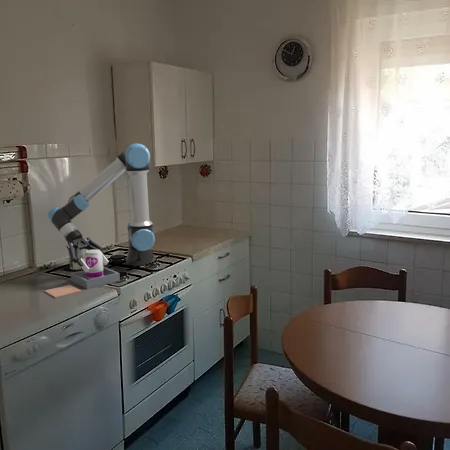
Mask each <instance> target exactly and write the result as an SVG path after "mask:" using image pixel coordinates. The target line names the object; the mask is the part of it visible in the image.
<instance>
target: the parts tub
mask: <svg viewBox="0 0 450 450" xmlns="http://www.w3.org/2000/svg"><path fill="white" fill-rule="evenodd" d="M103 269H104V276H102V277H98V278H93V279H89V280H87V278H86V272H85V271H84V270H80V271H75V272H74V271H73V272H71V273H70V280H71V282H72V283H73V284H76V285H78V286H81V287H82V288H85V289H86V290H91V289H94V288H97V287H101V286H105V285H109V284H112V283H114V284H115V283H118V282H121V277H120V276H121V275H120V274H121V273H120V272H117V271H115V270H112V269H110V268H107V267H105V266H103ZM117 281H118V282H117Z"/></svg>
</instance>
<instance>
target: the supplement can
mask: <svg viewBox="0 0 450 450" xmlns="http://www.w3.org/2000/svg"><path fill="white" fill-rule="evenodd" d="M102 253H103V251H102V252H101V250H98V249H93V250H88V251H86V253H85V263H86V265H87V266H88V267H89V268H90V269H89V270H88V272H86V279H87V280H89V279H93V278H98V277H102V276H104V269H103V267H104V263H103V256H102Z"/></svg>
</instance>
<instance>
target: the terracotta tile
mask: <svg viewBox="0 0 450 450" xmlns="http://www.w3.org/2000/svg"><path fill="white" fill-rule="evenodd" d="M81 292H82V290H81V289H79V288H78V287H75V286H74V285H71V284H67V285H63V286H58V287H54V288H49V289H46V290H44V293H46V294H48V295H49V296H51V297H53V298H55V299H57V298H61V297H62V298H63V297H65V296H70V295H73V294H78V293H81Z"/></svg>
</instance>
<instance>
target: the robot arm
mask: <svg viewBox="0 0 450 450" xmlns="http://www.w3.org/2000/svg"><path fill="white" fill-rule="evenodd" d="M150 159H151V154H150V151H149V149H148V148H147V146H146V145H144V144H141V143H130V144H128V145H127V146H126V147H125V148H124V149H123V150H122V151H121V152H120V153H118V155H117V156H116V157H115V160H114V161H113V162H112V163H111V164H109V165H108V166H107V167H106V168H105V169H103V170H102V171H100V173H99V174H97V175H96V176H95V177H94V178H92V179H91V180H89V182H88V183H86V184H85V185H84V186H83V187H82V188H80V189H79V190H78V191H76V193H74V194H73V195H71V196H70V197H69V199H68V201H67V203H66V204H65V205H63V206H62V207H61V206H54V207H52V208H51V209H49V210H48V213H47V217H48V219H49V220H50V222H51V224H53V226H54V228H56V230H57V231H58V232H59V233H60V234H61V235H62V237H63V238H64V239H65V241H66V242H67V244H66V246H65V247H66V248H67V250H68V255H69V254H70V258H71V261H72V262H74V263H78V265H79V266H80V267H82V269H81V270H82V271H85V272H88V270H89V269H90V268H89V267H88V266H87V265H86V263H85V262H84V261H83V260H82V258H81V259H80V250H81V249H88V250H93V249H98V250H101V252H102V256H103V266H107V265H108V264H109V262H110V261H109V260H108V259H107V257H106V256H105V254H104V253H103V250H104V248H103V247H101V246H100V245H99V244H97V243H96V242H94V241H93V240H92V239H91V238H90V237H88V236H87V237H86V238H83V234H82V232H81V231H80V230H79V229H78V228H77V226H76V225H75V224H74V223H73V222H72V220H74V218H76V217H77V216H79V215H80V214H81V213H82V212H84V211H85V210H86V209H87V208H88V207H89V206H90V203H89V202H90V201H91V200H93V199H94V198H95V197H96V196H97V195H99V194H100V193H101V192H103V191H104V190H105V189H106V188H107V187H108V186H110V185H111V184H112V183H113V182H114V181H116V180H117V179H118V178H119V177H120V176H121V175H123V174H124V173H125V172H126V173H127V174H129V186H130V187H129V188H130V201H131V218H132V221H129V222H127V237H128V238H127V239H128V242H127V243H128V252H127V256H126V259H125V260H126V261H125V262H126V265H129V266H133V267H134V266H135V267H136V266H137V267H138V266H147V265H146V264H148V265H150V264H149V263H151V264H153V263H154V262H155V256H154V253H153V251H152V249H151V248H152V247H153V246H154V245H155V241H156V240H155V239H156V238H155V237H156V236H155V233H154V223H153V222H152V221H151V220H150V210H149V209H150V205H149V191H148V175H147V174H148V173H149V171H150V161H151V160H150ZM86 245H87V246H86ZM73 247H74V248H75V249H73ZM74 251H75V252H74ZM152 262H153V263H152Z"/></svg>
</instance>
